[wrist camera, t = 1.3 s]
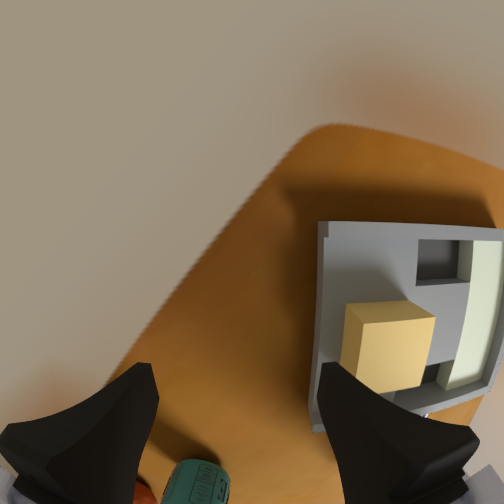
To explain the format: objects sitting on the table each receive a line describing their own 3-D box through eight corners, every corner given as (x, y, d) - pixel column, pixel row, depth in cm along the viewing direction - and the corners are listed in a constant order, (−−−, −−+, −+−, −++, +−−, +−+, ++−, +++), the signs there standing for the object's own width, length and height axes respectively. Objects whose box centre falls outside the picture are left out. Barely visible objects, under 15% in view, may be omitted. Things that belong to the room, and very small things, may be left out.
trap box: (471, 375, 20) (490, 391, 16) (307, 404, 21) (312, 433, 17) (496, 228, 18) (523, 230, 14) (317, 221, 20) (328, 221, 16)
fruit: (106, 458, 25) (81, 493, 17) (164, 483, 24) (146, 524, 16) (111, 484, 26) (92, 514, 18) (162, 505, 25) (148, 540, 18)
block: (398, 360, 18) (419, 385, 14) (339, 366, 18) (352, 396, 14) (408, 299, 17) (435, 316, 13) (345, 303, 18) (363, 323, 14)
